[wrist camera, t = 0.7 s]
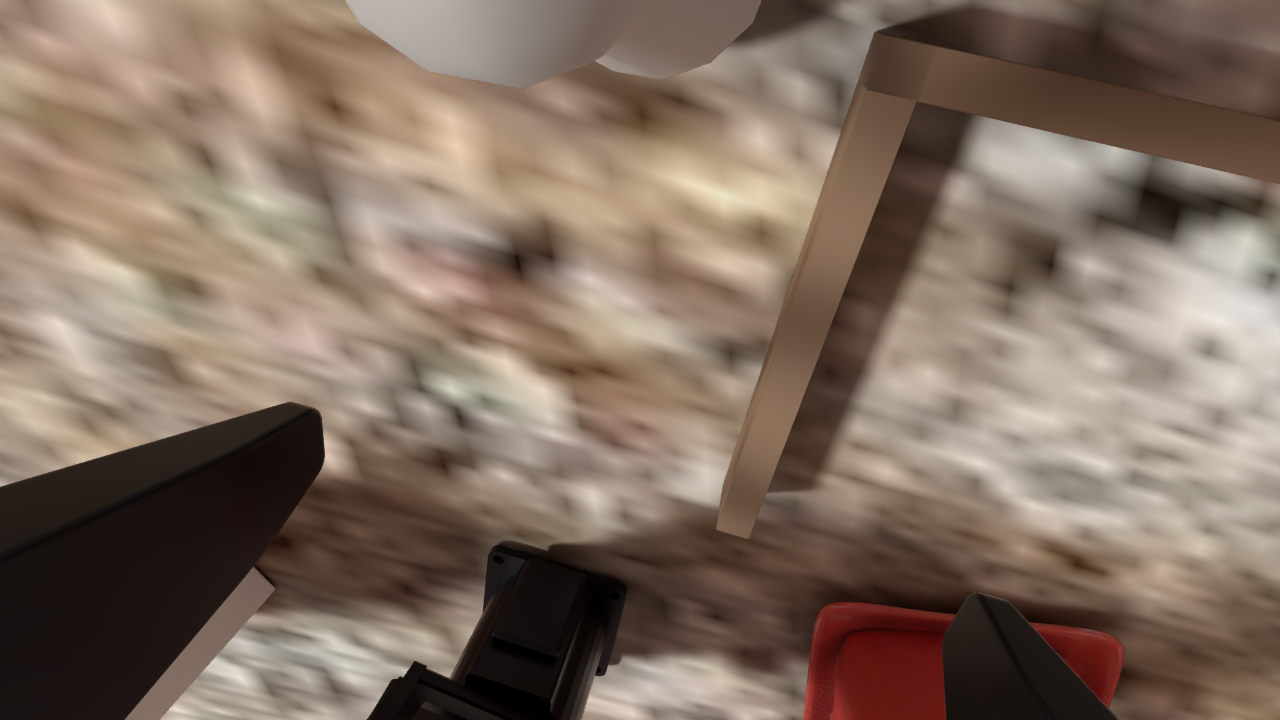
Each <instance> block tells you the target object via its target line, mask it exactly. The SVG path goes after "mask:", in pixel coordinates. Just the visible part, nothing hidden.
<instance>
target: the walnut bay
mask: <svg viewBox="0 0 1280 720" xmlns="http://www.w3.org/2000/svg"><path fill="white" fill-rule="evenodd" d="M916 102H922V103H926V104H930V105H935V106H939V107H944V108H948V109H952V110H957V111H961V112H966V113H970V114H974V115H979V116H983V117H987V118H992V119H996V120H1001V121H1005V122H1009V123H1014V124H1018V125H1023V126H1027V127H1031V128H1036V129H1040V130H1044V131H1049V132H1053V133H1058V134H1062V135H1066V136H1071V137H1075V138H1080V139H1084V140H1088V141H1093V142H1097V143H1101V144H1106V145H1110V146H1115V147H1119V148H1123V149H1128V150H1132V151H1137V152H1141V153H1145V154H1150V155H1154V156H1158V157H1163V158H1167V159H1172V160H1176V161H1180V162H1185V163H1189V164H1194V165H1198V166H1202V167H1207V168H1211V169H1216V170H1220V171H1224V172H1229V173H1233V174H1237V175H1242V176H1246V177H1251V178H1255V179H1259V180H1264V181H1268V182H1273V183H1277V184H1280V121H1279V120H1275V119H1270V118H1266V117H1261V116H1257V115H1252V114H1248V113H1243V112H1238V111H1234V110H1229V109H1225V108H1220V107H1216V106H1211V105H1207V104H1202V103H1197V102H1193V101H1188V100H1184V99H1179V98H1175V97H1170V96H1166V95H1161V94H1156V93H1152V92H1147V91H1143V90H1138V89H1134V88H1129V87H1125V86H1120V85H1116V84H1111V83H1106V82H1102V81H1097V80H1093V79H1088V78H1084V77H1079V76H1075V75H1070V74H1065V73H1061V72H1056V71H1052V70H1047V69H1043V68H1038V67H1034V66H1029V65H1024V64H1020V63H1015V62H1011V61H1006V60H1002V59H997V58H993V57H988V56H984V55H979V54H974V53H970V52H965V51H961V50H956V49H952V48H947V47H943V46H938V45H933V44H929V43H924V42H920V41H915V40H911V39H906V38H902V37H897V36H892V35H888V34H883V33H879V32H875V33H874V35H873V38H872V41H871V44H870V47H869V50H868V53H867V56H866V59H865V62H864V65H863V68H862V71H861V74H860V77H859V80H858V83H857V86H856V89H855V92H854V95H853V98H852V101H851V104H850V107H849V110H848V113H847V116H846V119H845V122H844V125H843V128H842V131H841V134H840V137H839V140H838V143H837V146H836V149H835V152H834V155H833V158H832V161H831V164H830V167H829V170H828V173H827V176H826V179H825V182H824V185H823V188H822V191H821V194H820V197H819V200H818V203H817V206H816V209H815V212H814V215H813V218H812V221H811V224H810V227H809V230H808V233H807V236H806V239H805V242H804V245H803V248H802V251H801V253H800V256H799V259H798V262H797V265H796V268H795V271H794V274H793V277H792V280H791V283H790V286H789V289H788V292H787V295H786V298H785V301H784V304H783V307H782V310H781V313H780V316H779V319H778V322H777V325H776V328H775V331H774V334H773V337H772V340H771V343H770V346H769V349H768V352H767V355H766V358H765V361H764V364H763V367H762V370H761V373H760V376H759V379H758V382H757V385H756V388H755V391H754V394H753V397H752V400H751V403H750V406H749V409H748V412H747V415H746V418H745V421H744V424H743V427H742V430H741V433H740V436H739V439H738V442H737V445H736V448H735V451H734V454H733V457H732V460H731V463H730V466H729V468H728V471H727V474H726V477H725V480H724V483H723V488H722V494H721V501H720V507H719V514H718V520H717V526H716V530H718V531H722V532H725V533H729V534H732V535H735V536H739V537H742V538H746V539H749V537H750V534H751V532H752V529H753V527H754V524H755V521H756V519H757V516H758V514H759V511H760V508H761V506H762V503H763V501H764V498H765V495H766V493H767V490H768V487H769V485H770V482H771V480H772V477H773V474H774V472H775V469H776V467H777V464H778V461H779V459H780V456H781V454H782V451H783V448H784V446H785V443H786V441H787V438H788V435H789V433H790V430H791V428H792V425H793V422H794V420H795V417H796V415H797V412H798V409H799V407H800V404H801V402H802V399H803V396H804V394H805V391H806V389H807V386H808V383H809V381H810V378H811V376H812V373H813V370H814V368H815V365H816V362H817V360H818V357H819V355H820V352H821V349H822V347H823V344H824V342H825V339H826V336H827V334H828V331H829V329H830V326H831V323H832V321H833V318H834V316H835V313H836V310H837V308H838V305H839V303H840V300H841V297H842V295H843V292H844V290H845V287H846V284H847V282H848V279H849V277H850V274H851V271H852V269H853V266H854V264H855V261H856V258H857V256H858V253H859V251H860V248H861V245H862V243H863V240H864V238H865V235H866V232H867V230H868V227H869V224H870V222H871V219H872V217H873V214H874V211H875V209H876V206H877V204H878V201H879V198H880V196H881V193H882V191H883V188H884V185H885V183H886V180H887V178H888V175H889V172H890V170H891V167H892V165H893V162H894V159H895V157H896V154H897V152H898V149H899V146H900V144H901V141H902V139H903V136H904V133H905V131H906V128H907V126H908V123H909V120H910V118H911V115H912V113H913V110H914V107H915V105H916Z"/></svg>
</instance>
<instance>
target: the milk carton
mask: <svg viewBox="0 0 1280 720" xmlns="http://www.w3.org/2000/svg"><path fill="white" fill-rule="evenodd" d="M274 590H275V588H274V587H273V586H272V585H271V584H270V583H269V582H268V581H267V580H266V579H265V578H264V577H263V576H262V575H261V574H260V573H259V572H258V571H257V570H256V569H255V568H254V567H253V568H252V569H251V571H250V572H249V573H248V574H247V575H246V577H245V578H244V579H243V580H242V581H241V583H240V584H239V585H238V586H237V587H236V589H235V590H234V591H233V592H232V593H231V595H230V596H229V597H228V598H227V599H226V600H225V602H224V603H223V604H222V605H221V606H220V608H219V609H218V610H217V611H216V612H215V613H214V615H213V616H212V617H211V618H210V619H209V621H208V622H207V623H206V624H205V625H204V627H203V628H202V629H201V630H200V631H199V632H198V634H197V635H196V636H195V637H194V638H193V640H192V641H191V642H190V643H189V644H188V645H187V647H186V648H185V649H184V650H183V651H182V653H181V654H180V655H179V656H178V657H177V659H176V660H175V661H174V662H173V663H172V664H171V666H170V667H169V668H168V669H167V670H166V672H165V673H164V674H163V675H162V676H161V678H160V679H159V680H158V681H157V682H156V683H155V685H154V686H153V687H152V688H151V689H150V691H149V692H148V693H147V694H146V695H145V696H144V698H143V699H142V700H141V701H140V702H139V704H138V705H137V706H136V707H135V708H134V710H133V711H132V712H131V713H130V714H129V715H128V717H127V718H126V719H125V720H160V719H161V717H162V716H163V715H164V714H165V713H166V712H167V711H168V710H169V708H170V707H171V706H172V705H173V704H174V703H175V702H176V701H177V699H178V698H179V697H180V696H181V695H182V694H183V693H184V692H185V690H186V689H187V688H188V687H189V686H190V685H191V684H192V683H193V681H194V680H195V679H196V678H197V677H198V676H199V675H200V674H201V673H202V671H203V670H204V669H205V668H206V667H207V666H208V665H209V664H210V662H211V661H212V660H213V659H214V658H215V657H216V656H217V655H218V653H219V652H220V651H221V650H222V649H223V648H224V647H225V646H226V644H227V643H228V642H229V641H230V640H231V639H232V638H233V637H234V635H235V634H236V633H237V632H238V631H239V630H240V629H241V628H242V626H243V625H244V624H245V623H246V622H247V621H248V620H249V619H250V617H251V616H252V615H253V614H254V613H255V612H256V611H257V610H258V609H259V607H260V606H261V605H262V604H263V603H264V602H265V601H266V600H267V598H268V597H269V596H270V595H271V594H272V593H273V592H274Z"/></svg>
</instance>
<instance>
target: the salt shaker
mask: <svg viewBox="0 0 1280 720" xmlns="http://www.w3.org/2000/svg"><path fill="white" fill-rule="evenodd" d="M345 1H346V3H347V4H348V6H349V7H350V9H351V10H352V12H353V13H354V15H355V16H356V18H357V20H358V21H359V23H360V24H361V25H363V26H364V27H366V28H367V29H368V30H370V31H371V32H373V33H374V34H376V35H377V36H378V37H380V38H381V39H383V40H384V41H386V42H387V43H388V44H390V45H391V46H393V47H394V48H396V49H397V50H398V51H400V52H401V53H403V54H404V55H406V56H407V57H408V58H410V59H411V60H413V61H414V62H415V63H417V64H418V65H420V66H421V67H423V68H424V69H425V70H427V71H430V72H436V73H441V74H446V75H452V76H457V77H462V78H468V79H473V80H478V81H484V82H489V83H494V84H500V85H505V86H510V87H516V88H521V89H523V88H526V87H529V86H531V85H534V84H537V83H539V82H542V81H545V80H547V79H550V78H553V77H555V76H558V75H561V74H563V73H566V72H568V71H571V70H574V69H576V68H579V67H582V66H584V65H587V64H590V63H592V62H594V61H596V62H598V63H600V64H601V65H603V66H605V67H607V68H609V69H610V70H612V71H617V72H622V73H628V74H633V75H639V76H644V77H650V78H655V79H661V80H663V79H666V78H669V77H672V76H675V75H677V74H680V73H683V72H686V71H688V70H691V69H694V68H697V67H700V66H702V65H705V64H708V63H711V62H712V61H713V60H714V59H715V58H716V57H717V56H718V55H719V54H720V53H721V52H722V51H724V50H725V49H726V48H727V47H728V46H729V45H730V44H731V43H732V42H733V41H734V40H735V39H736V38H737V37H738V36H739V35H740V34H741V33H742V32H743V31H745V30H746V29H747V28H748V27H749V26H750V25H751V24H752V23H753V22H754V19H755V16H756V14H757V11H758V9H759V6H760V3H761V1H762V0H345Z"/></svg>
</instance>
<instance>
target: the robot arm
mask: <svg viewBox="0 0 1280 720" xmlns="http://www.w3.org/2000/svg"><path fill="white" fill-rule="evenodd" d="M324 458H325V449H324V437H323V425H322V417H321V414H320V412H319V411H318V410H317V409H315V408H313V407H309V406H305V405H302V404H298V403H293V402H287V403H283V404H280V405H276V406H273V407H270V408H266V409H263V410H259V411H256V412H253V413H249V414H246V415H242V416H239V417H236V418H232V419H229V420H225V421H222V422H219V423H215V424H212V425H208V426H205V427H202V428H198V429H195V430H191V431H188V432H185V433H181V434H178V435H174V436H171V437H168V438H164V439H161V440H157V441H154V442H151V443H147V444H144V445H140V446H137V447H134V448H130V449H127V450H123V451H120V452H117V453H113V454H110V455H106V456H103V457H100V458H96V459H93V460H89V461H86V462H83V463H79V464H76V465H72V466H69V467H66V468H62V469H59V470H55V471H52V472H49V473H45V474H42V475H38V476H35V477H32V478H28V479H25V480H21V481H18V482H15V483H11V484H8V485H4V486H1V487H0V720H125V719H126V718H127V717H128V715H129V714H130V713H131V712H132V711H133V710H134V708H135V707H136V706H137V705H138V704H139V702H140V701H141V700H142V699H143V698H144V696H145V695H146V694H147V693H148V692H149V691H150V689H151V688H152V687H153V686H154V685H155V683H156V682H157V681H158V680H159V679H160V678H161V676H162V675H163V674H164V673H165V672H166V670H167V669H168V668H169V667H170V666H171V664H172V663H173V662H174V661H175V660H176V659H177V657H178V656H179V655H180V654H181V653H182V651H183V650H184V649H185V648H186V647H187V645H188V644H189V643H190V642H191V641H192V640H193V638H194V637H195V636H196V635H197V634H198V632H199V631H200V630H201V629H202V628H203V627H204V625H205V624H206V623H207V622H208V621H209V619H210V618H211V617H212V616H213V615H214V613H215V612H216V611H217V610H218V609H219V608H220V606H221V605H222V604H223V603H224V602H225V600H226V599H227V598H228V597H229V596H230V595H231V593H232V592H233V591H234V590H235V589H236V587H237V586H238V585H239V584H240V583H241V581H242V580H243V579H244V578H245V577H246V575H247V574H248V573H249V572H250V571H251V569H252V568H253V567H254V566H255V564H256V563H257V562H258V561H259V559H260V558H261V556H262V555H263V554H264V552H265V551H266V550H267V548H268V547H269V545H270V544H271V543H272V541H273V540H274V538H275V537H276V535H277V534H278V532H279V531H280V529H281V528H282V526H283V525H284V524H285V522H286V521H287V519H288V518H289V516H290V515H291V513H292V512H293V510H294V509H295V507H296V506H297V505H298V503H299V502H300V500H301V499H302V497H303V496H304V494H305V493H306V491H307V490H308V488H309V487H310V486H311V484H312V483H313V481H314V480H315V478H316V477H317V475H318V474H319V472H320V470H321V468H322V466H323V463H324ZM616 592H617V593H616ZM626 595H627V587H626V586H625V585H624V584H623V583H621V582H619V581H616V580H613V579H610V578H606V577H603V576H600V575H596V574H593V573H590V572H587V571H583V570H580V569H577V568H574V567H570V566H567V565H564V564H561V563H557V562H554V561H551V560H548V559H544V558H541V557H538V556H534V555H531V554H528V553H525V552H521V551H518V550H515V549H512V548H508V547H505V546H501V545H497V546H494V547H493V548H492V550H491V551H490V553H489V555H488V563H487V573H486V584H485V595H484V605H483V614H482V616H481V618H480V620H479V622H478V624H477V626H476V628H475V630H474V632H473V634H472V635H471V637H470V639H469V641H468V643H467V645H466V647H465V649H464V651H463V653H462V655H461V657H460V659H459V661H458V663H457V665H456V667H455V668H454V670H453V672H452V674H451V676H450V678H447V677H445V676H443V675H440V674H438V673H436V672H433V671H431V670H429V669H427V666H426V665H424V664H421V663H419V662H417V661H414V663H413V664H412V666H411V667H410V669H409V670H408V671H407V673H406V674H405V676H404V677H401V676H400V677H399V678H398V679H392V680H391V682H390V683H389V685H388V687H387V688H386V690H385V692H384V693H383V695H382V697H381V698H380V700H379V702H378V703H377V705H376V707H375V708H374V710H373V711H372V713H371V714H370V716H369V717H368V719H367V720H581V719H582V716H583V713H584V709H585V706H586V703H587V700H588V696H589V693H590V690H591V686H592V683H593V680H594V676H603V675H605V673H606V671H607V667H608V663H609V660H610V656H611V652H612V648H613V644H614V641H615V637H616V633H617V629H618V625H619V622H620V618H621V614H622V610H623V606H624V603H625V599H626ZM942 660H943V678H944V696H945V714H946V720H1118V718H1117V717H1116V716H1115V715H1114V714H1113V713H1112V712H1111V711H1110V710H1109V709H1108V708H1107V707H1106V705H1105V704H1104V703H1103V702H1102V701H1101V700H1100V699H1099V698H1098V697H1097V696H1096V695H1095V694H1094V692H1093V691H1092V690H1091V689H1090V688H1089V687H1088V686H1087V685H1086V684H1085V683H1084V682H1083V681H1082V679H1081V678H1080V677H1079V676H1078V675H1077V674H1076V673H1075V672H1074V671H1073V670H1072V669H1071V668H1070V666H1069V665H1068V664H1067V663H1066V662H1065V661H1064V660H1063V659H1062V658H1061V657H1060V656H1059V655H1058V654H1057V652H1056V651H1055V650H1054V649H1053V648H1052V647H1051V646H1050V645H1049V644H1048V643H1047V642H1046V641H1045V639H1044V638H1043V637H1042V636H1041V635H1040V634H1039V633H1038V632H1037V631H1036V630H1035V629H1034V628H1033V626H1032V625H1031V624H1030V623H1029V622H1028V621H1027V620H1026V619H1025V618H1024V617H1023V616H1022V615H1021V613H1020V612H1019V611H1018V610H1017V609H1016V608H1015V607H1014V606H1013V605H1012V604H1011V603H1010V602H1008V601H1007V600H1005V599H1002V598H999V597H995V596H992V595H988V594H984V593H981V592H974V593H972V594H970V595H969V596H968V597H967V598H966V600H965V601H964V603H963V605H962V606H961V608H960V609H959V611H958V613H957V614H956V616H955V618H954V619H953V621H952V622H951V624H950V626H949V627H948V629H947V631H946V633H945V635H944V638H943V643H942Z"/></svg>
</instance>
